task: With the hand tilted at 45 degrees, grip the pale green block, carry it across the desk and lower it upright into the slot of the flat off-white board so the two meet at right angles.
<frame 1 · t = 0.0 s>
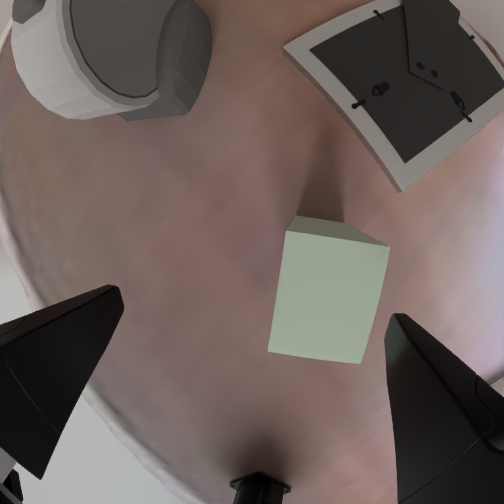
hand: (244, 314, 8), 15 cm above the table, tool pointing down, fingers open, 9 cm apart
picture frame: (417, 70, 19), on the table
pale green block: (315, 249, 23), on the table
alarm clock: (164, 63, 23), on the table
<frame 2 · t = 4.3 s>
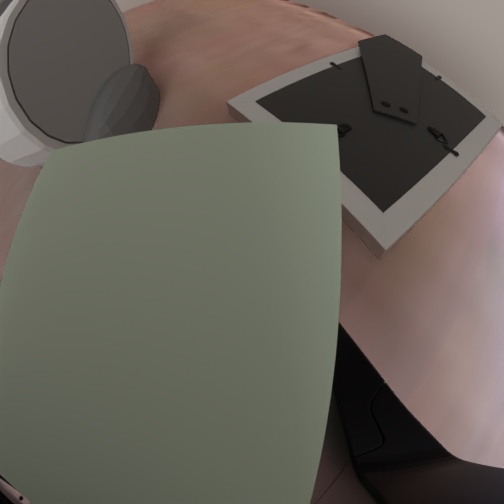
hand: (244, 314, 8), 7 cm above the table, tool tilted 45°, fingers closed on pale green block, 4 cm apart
picture frame: (385, 120, 20), on the table
pale green block: (261, 359, 14), on the table, touching gripper
alarm clock: (109, 136, 23), on the table
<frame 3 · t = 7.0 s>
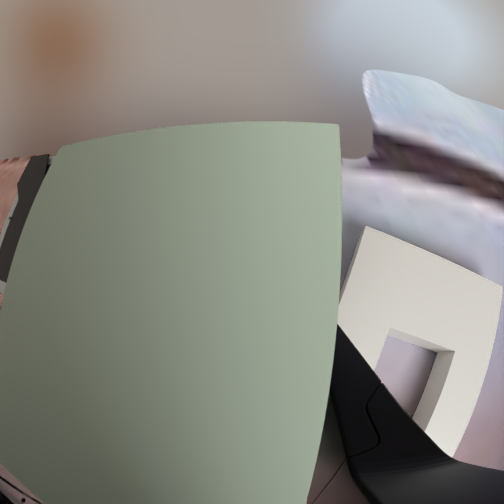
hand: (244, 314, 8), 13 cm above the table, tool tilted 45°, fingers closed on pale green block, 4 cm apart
picture frame: (41, 227, 30), on the table
slotted board: (393, 383, 18), on the table
pale green block: (263, 357, 14), point 7 cm above the table, touching gripper
when the fingers open (8 cm above the table, at t = 9.8 s): pale green block drops 1 cm, resting in slotted board.
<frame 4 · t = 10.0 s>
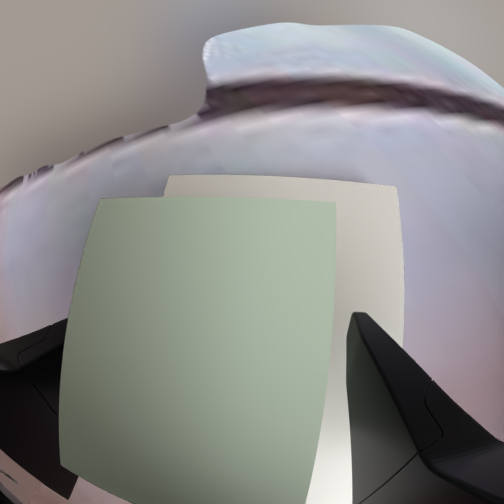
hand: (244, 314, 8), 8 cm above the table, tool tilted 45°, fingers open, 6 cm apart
slotted board: (264, 357, 15), on the table
pale green block: (263, 357, 15), resting in slotted board
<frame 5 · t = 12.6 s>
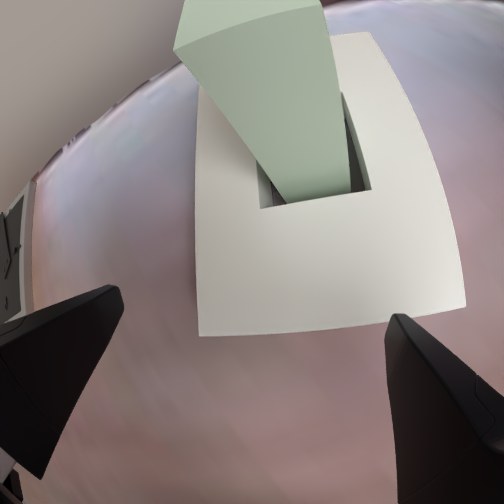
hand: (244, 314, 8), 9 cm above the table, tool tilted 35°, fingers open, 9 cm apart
picture frame: (17, 265, 32), on the table
slotted board: (313, 167, 18), on the table
pale green block: (313, 167, 18), resting in slotted board
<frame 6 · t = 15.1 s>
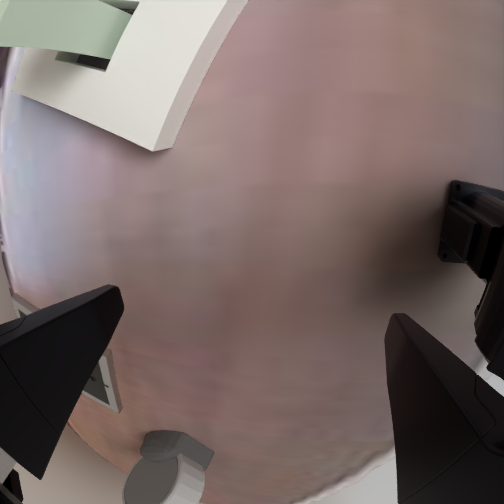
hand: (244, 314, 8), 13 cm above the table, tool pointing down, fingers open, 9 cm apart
picture frame: (68, 351, 37), on the table
slotted board: (113, 37, 16), on the table
pale green block: (113, 37, 16), resting in slotted board
alarm clock: (178, 444, 41), on the table
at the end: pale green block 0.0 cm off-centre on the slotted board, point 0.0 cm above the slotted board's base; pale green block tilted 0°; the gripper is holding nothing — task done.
